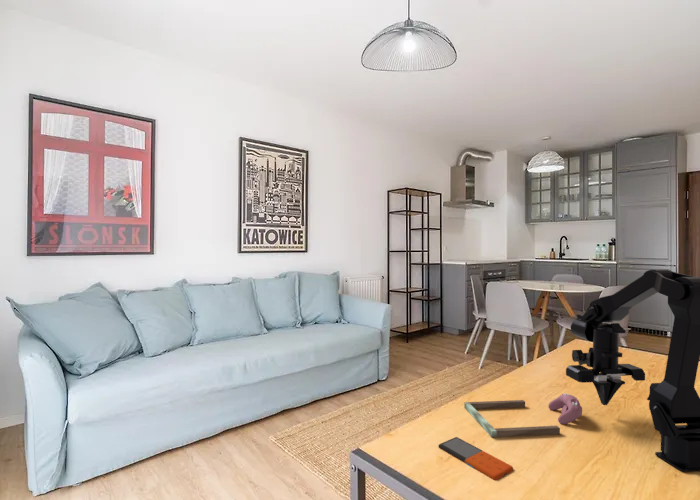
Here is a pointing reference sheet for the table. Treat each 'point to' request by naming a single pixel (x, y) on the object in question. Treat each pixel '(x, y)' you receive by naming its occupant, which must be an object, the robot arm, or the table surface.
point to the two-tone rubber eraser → (476, 458)
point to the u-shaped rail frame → (506, 432)
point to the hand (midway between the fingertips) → (604, 404)
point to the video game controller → (566, 408)
